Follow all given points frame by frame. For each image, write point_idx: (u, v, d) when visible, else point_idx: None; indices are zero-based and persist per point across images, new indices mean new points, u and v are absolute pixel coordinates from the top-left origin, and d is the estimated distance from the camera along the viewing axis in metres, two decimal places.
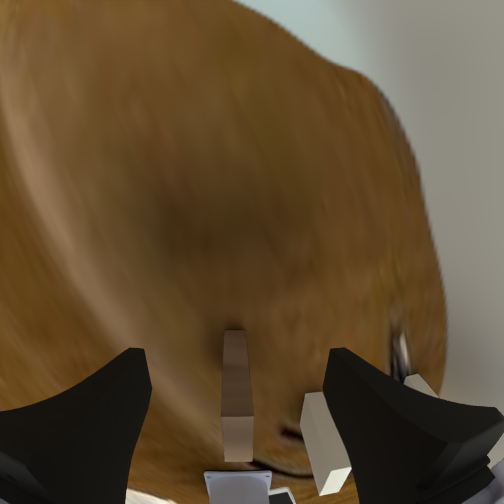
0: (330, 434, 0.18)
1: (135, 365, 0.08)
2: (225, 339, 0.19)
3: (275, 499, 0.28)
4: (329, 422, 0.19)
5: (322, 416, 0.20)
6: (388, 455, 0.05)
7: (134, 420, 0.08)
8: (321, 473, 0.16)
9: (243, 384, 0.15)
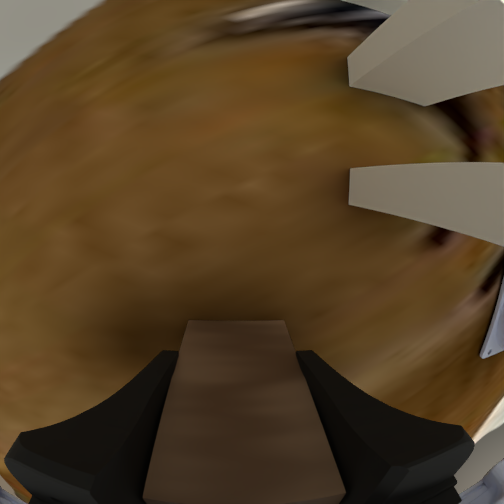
0: (424, 189, 0.06)
1: (172, 369, 0.09)
2: None
3: None
4: (399, 178, 0.08)
5: (386, 189, 0.08)
6: (341, 467, 0.05)
7: None
8: None
9: None
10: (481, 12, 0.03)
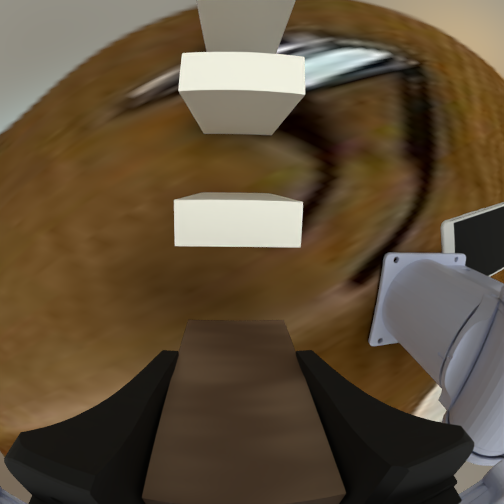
0: None
1: (172, 369, 0.09)
2: None
3: (469, 240, 0.20)
4: None
5: None
6: (341, 467, 0.05)
7: None
8: None
9: None
10: (191, 97, 0.09)
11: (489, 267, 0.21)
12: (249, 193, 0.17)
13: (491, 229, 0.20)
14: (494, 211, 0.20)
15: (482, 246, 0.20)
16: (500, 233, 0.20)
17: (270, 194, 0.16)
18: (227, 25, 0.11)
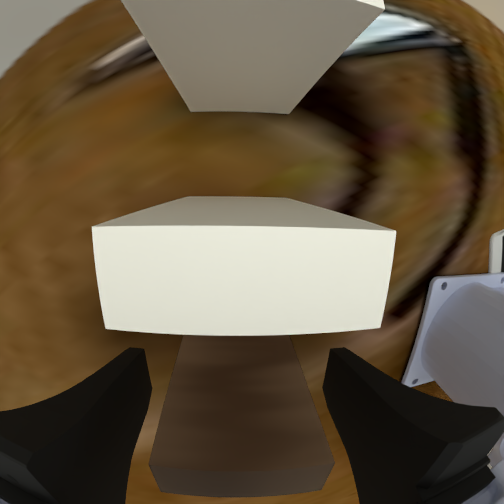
0: None
1: (135, 366, 0.08)
2: None
3: None
4: None
5: None
6: (388, 455, 0.05)
7: (134, 420, 0.08)
8: None
9: None
10: (149, 14, 0.03)
11: None
12: (257, 198, 0.11)
13: None
14: None
15: None
16: None
17: (291, 200, 0.10)
18: None
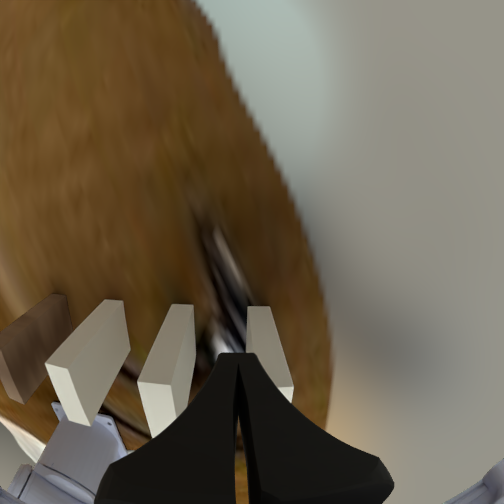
0: (84, 333, 0.14)
1: (237, 371, 0.09)
2: (44, 299, 0.18)
3: None
4: (96, 324, 0.16)
5: (96, 318, 0.16)
6: (252, 478, 0.05)
7: (236, 427, 0.08)
8: None
9: (18, 329, 0.13)
10: None
11: None
12: (122, 343, 0.19)
13: None
14: None
15: None
16: None
17: (121, 362, 0.18)
18: None
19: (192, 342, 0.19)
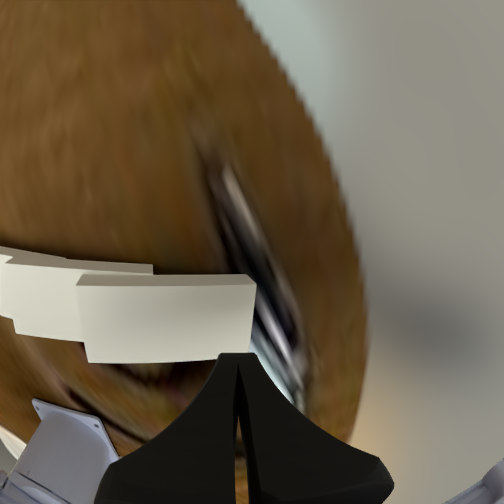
0: None
1: (238, 371, 0.09)
2: None
3: None
4: (9, 253, 0.13)
5: (21, 253, 0.13)
6: (252, 478, 0.05)
7: (235, 427, 0.08)
8: None
9: None
10: None
11: None
12: None
13: None
14: None
15: None
16: None
17: None
18: None
19: None
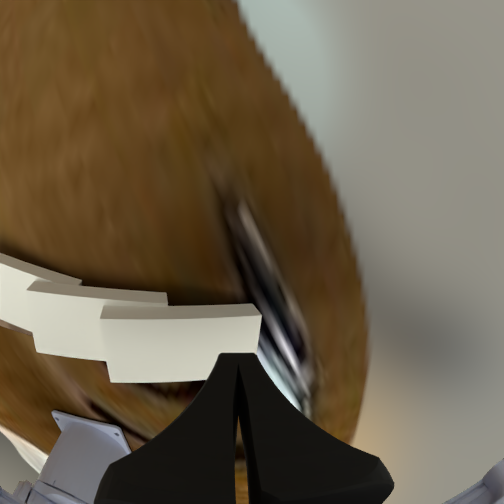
0: (13, 263, 0.14)
1: (237, 371, 0.09)
2: None
3: None
4: (26, 269, 0.14)
5: (38, 271, 0.15)
6: (252, 478, 0.05)
7: (235, 427, 0.08)
8: None
9: None
10: None
11: None
12: None
13: None
14: None
15: None
16: None
17: None
18: None
19: None
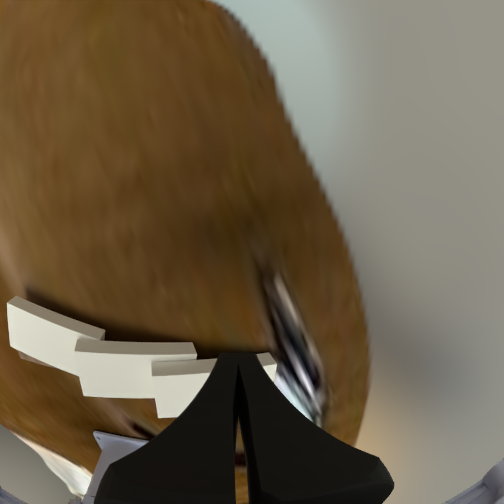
0: (43, 313, 0.17)
1: (237, 371, 0.09)
2: None
3: None
4: (55, 320, 0.17)
5: (66, 321, 0.18)
6: (252, 478, 0.05)
7: (235, 427, 0.08)
8: None
9: None
10: None
11: None
12: None
13: None
14: None
15: None
16: None
17: (73, 372, 0.18)
18: None
19: None
